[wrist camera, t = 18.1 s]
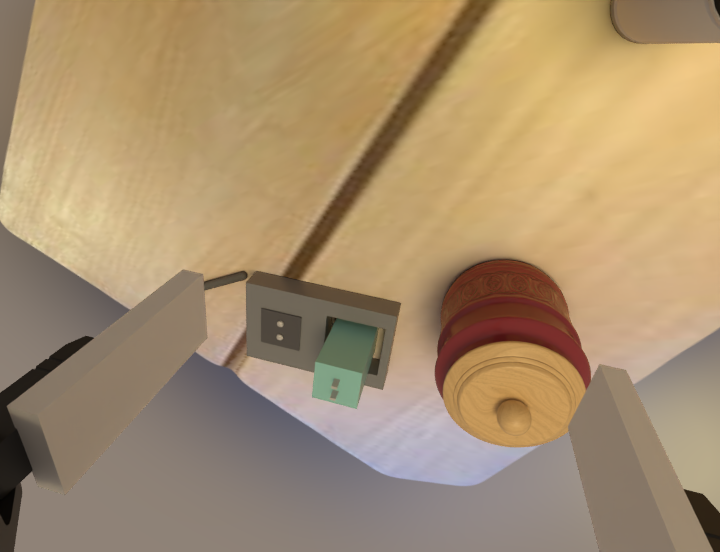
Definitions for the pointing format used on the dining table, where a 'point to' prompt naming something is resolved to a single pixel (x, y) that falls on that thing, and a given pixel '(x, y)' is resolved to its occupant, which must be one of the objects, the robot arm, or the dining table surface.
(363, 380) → the charger block
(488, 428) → the canister
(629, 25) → the travel mug
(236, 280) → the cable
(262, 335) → the grey flat block
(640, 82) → the dining table surface
